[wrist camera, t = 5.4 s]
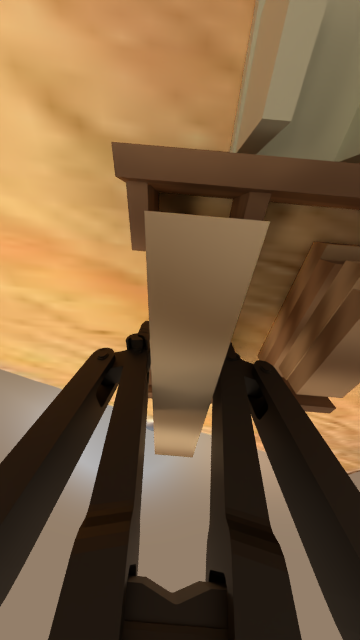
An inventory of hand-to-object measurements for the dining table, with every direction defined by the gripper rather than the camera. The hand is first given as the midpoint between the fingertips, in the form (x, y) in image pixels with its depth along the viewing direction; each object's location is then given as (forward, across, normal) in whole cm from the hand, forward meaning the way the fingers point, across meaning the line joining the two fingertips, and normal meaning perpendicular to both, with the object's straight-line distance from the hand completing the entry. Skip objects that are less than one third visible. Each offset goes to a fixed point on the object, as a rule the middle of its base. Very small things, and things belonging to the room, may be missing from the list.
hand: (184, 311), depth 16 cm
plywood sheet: (+2, 0, 0) cm, 2 cm away
